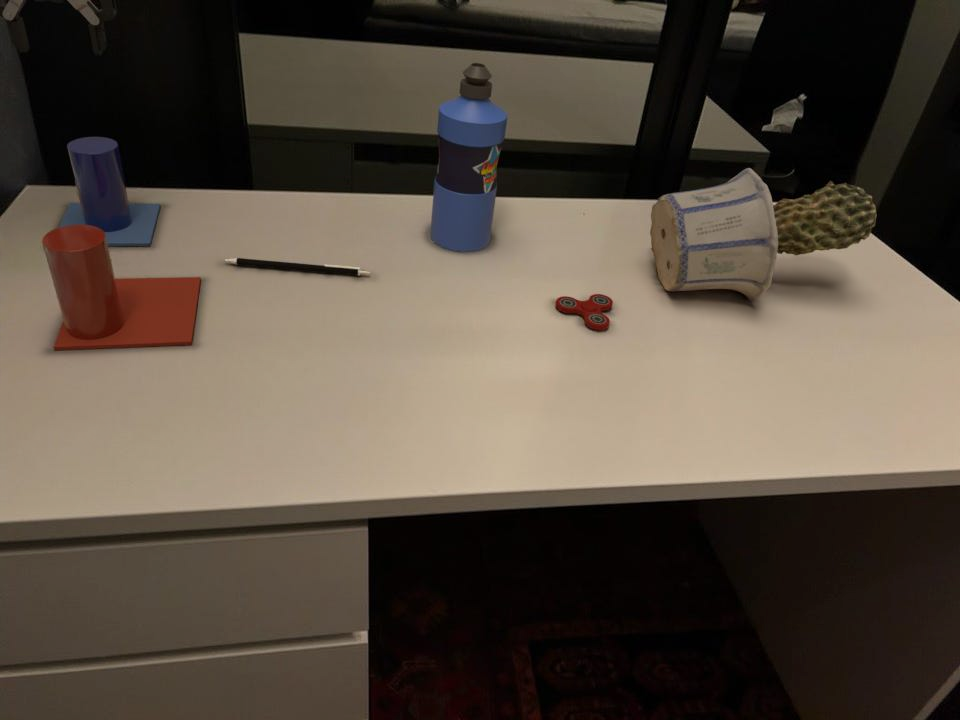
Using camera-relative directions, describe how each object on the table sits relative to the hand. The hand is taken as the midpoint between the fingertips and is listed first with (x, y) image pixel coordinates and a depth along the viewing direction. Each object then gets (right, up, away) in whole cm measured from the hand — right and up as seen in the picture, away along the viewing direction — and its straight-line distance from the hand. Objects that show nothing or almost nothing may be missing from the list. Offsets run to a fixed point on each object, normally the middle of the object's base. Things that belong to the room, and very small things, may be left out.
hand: (62, 52), depth 94 cm
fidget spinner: (+68, -33, +3) cm, 76 cm away
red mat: (+12, -34, -7) cm, 36 cm away
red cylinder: (+10, -35, -11) cm, 38 cm away
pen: (+29, -27, +4) cm, 40 cm away
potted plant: (+92, -29, +14) cm, 97 cm away
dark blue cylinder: (+2, -20, +8) cm, 22 cm away
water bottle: (+50, -21, +17) cm, 57 cm away
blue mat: (+2, -20, +8) cm, 22 cm away
